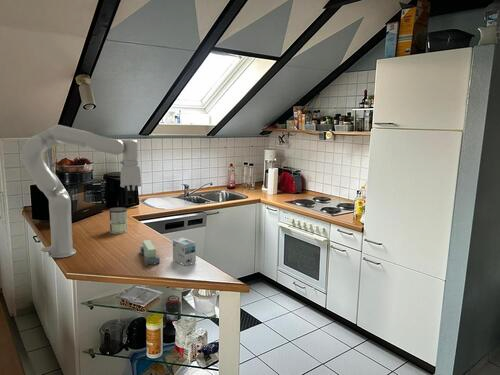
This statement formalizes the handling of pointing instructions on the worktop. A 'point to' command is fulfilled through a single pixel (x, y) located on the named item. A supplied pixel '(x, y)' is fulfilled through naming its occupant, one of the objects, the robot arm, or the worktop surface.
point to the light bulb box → (184, 251)
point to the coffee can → (118, 220)
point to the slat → (149, 249)
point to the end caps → (150, 260)
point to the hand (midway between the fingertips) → (130, 197)
